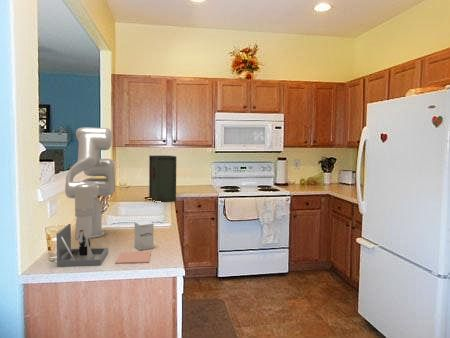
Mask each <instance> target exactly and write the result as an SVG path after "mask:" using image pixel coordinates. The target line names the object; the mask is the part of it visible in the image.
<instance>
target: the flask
mask: <svg viewBox="0 0 450 338" xmlns="http://www.w3.org/2000/svg"><path fill="white" fill-rule="evenodd" d="M83 239H85V238H83ZM84 243H85V241H84ZM86 246H87V255H83V256H80V255H79V253H78V255H76V258H75V260H78V259H95V255H94V254H92V251H91V249H90V248H91V245H90V246H89V243H88V239H87V244H86Z"/></svg>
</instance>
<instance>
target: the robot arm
mask: <svg viewBox="0 0 450 338" xmlns="http://www.w3.org/2000/svg"><path fill="white" fill-rule="evenodd" d="M75 135H76V136H75V137H76V139H77V141H78V149H77V151H78V153H77V162H76V163H74V164H73V165H71V167H70V168H69V170H68V171H67V173H66V177H65V187H64V191H65V196H66V197H67V198H68V199H74V216H75V217H76V219H75V236H74V237H75V240H76V241H78V245H79V246H78V249H79V255H80V256H83V255H87V246H86V244H87V239H88V243H89V246H90V247H91V239H93V238H94V239H95V238H100V237H103V236H105V231H104V230H102V227H103V225H102V223H103V222H102V221H103V220H102V202H101V200H100V199H99V198H98V197H100V196H113V195H114V194H115V191H116V181H115V180H116V178H115V177H116V176H115V175H116V174H115V173H116V171H115V170H116V169H115V162H114V161H113V159H111V158H101V151H109V150H110V149H111V146H112V140H113V134H112V130H111V129H110V128H107V127H88V126H87V127H79V128H77V129H76V131H75ZM82 172H83V173H84V175H85V176H88V177H91V178H85V179H83V180H82V181H74V178H75V177H76V176H77V175H78V174H79V173H82ZM93 177H94V178H93ZM102 177H103V178H102ZM83 238H85V239H83ZM84 241H85V243H84Z"/></svg>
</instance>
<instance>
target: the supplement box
mask: <svg viewBox="0 0 450 338" xmlns="http://www.w3.org/2000/svg"><path fill="white" fill-rule="evenodd" d="M134 248H135V249H136V250H138V252H141V251H143V250H151V249H154V223H153V222H152V221H149V220H145V221H144V220H143V221H134Z"/></svg>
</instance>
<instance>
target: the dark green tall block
mask: <svg viewBox="0 0 450 338" xmlns="http://www.w3.org/2000/svg"><path fill="white" fill-rule="evenodd" d="M148 157H149V159H148V160H149V162H148V166H149V167H148V169H149V170H148V171H149V173H148V174H149V177H148V178H149V182H148V185H149V186H148V189H149V191H148V193H149V194H148V195H149V197H148V199H149V198H152V199H154V200H155V201H161V202H163V203H174V202H176V203H177V156H176V155H148ZM149 201H151V199H150V200H149ZM155 201H154V202H153V200H152V201H151V202H153V203H155ZM155 204H158V203H157V202H156V203H155Z"/></svg>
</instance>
